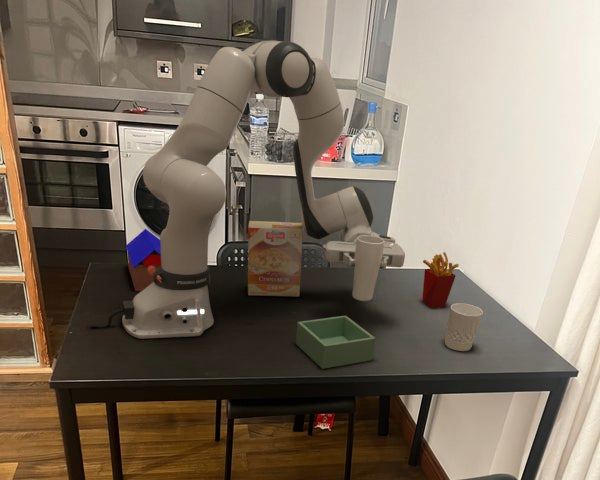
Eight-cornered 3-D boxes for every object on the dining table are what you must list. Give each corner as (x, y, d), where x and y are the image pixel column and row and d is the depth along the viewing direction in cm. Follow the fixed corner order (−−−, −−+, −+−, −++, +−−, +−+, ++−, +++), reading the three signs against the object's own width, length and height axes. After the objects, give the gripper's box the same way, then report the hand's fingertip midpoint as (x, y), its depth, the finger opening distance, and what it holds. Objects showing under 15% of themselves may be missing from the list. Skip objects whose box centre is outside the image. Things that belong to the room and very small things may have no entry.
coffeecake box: (247, 295, 170) (247, 227, 160) (248, 286, 176) (248, 220, 166) (300, 297, 171) (303, 228, 161) (299, 288, 177) (302, 221, 167)
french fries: (449, 307, 175) (460, 258, 168) (425, 310, 172) (436, 259, 165) (432, 296, 182) (442, 248, 174) (409, 298, 179) (419, 249, 171)
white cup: (440, 337, 157) (448, 301, 151) (469, 340, 157) (478, 304, 152) (445, 351, 150) (454, 314, 145) (476, 353, 150) (486, 317, 145)
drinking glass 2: (375, 294, 154) (384, 236, 146) (375, 304, 148) (385, 244, 141) (349, 291, 154) (357, 233, 147) (348, 301, 149) (356, 241, 141)
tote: (322, 369, 136) (325, 346, 133) (295, 343, 146) (297, 321, 143) (372, 360, 142) (375, 338, 139) (343, 336, 152) (345, 315, 149)
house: (167, 266, 186) (165, 228, 180) (177, 289, 170) (176, 249, 164) (127, 267, 182) (124, 228, 176) (134, 291, 166) (131, 250, 160)
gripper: (323, 232, 155) (327, 248, 144) (400, 238, 157) (410, 255, 145) (320, 256, 159) (324, 273, 147) (396, 261, 160) (406, 279, 148)
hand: (368, 264), depth 146 cm, fingers closed on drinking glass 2, 6 cm apart
